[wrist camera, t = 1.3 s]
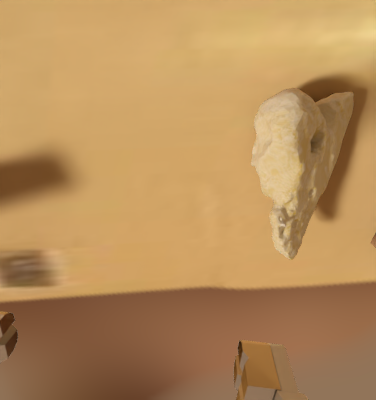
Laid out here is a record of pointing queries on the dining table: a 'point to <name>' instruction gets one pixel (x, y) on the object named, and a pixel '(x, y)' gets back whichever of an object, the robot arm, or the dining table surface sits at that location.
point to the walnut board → (374, 240)
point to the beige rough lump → (297, 157)
